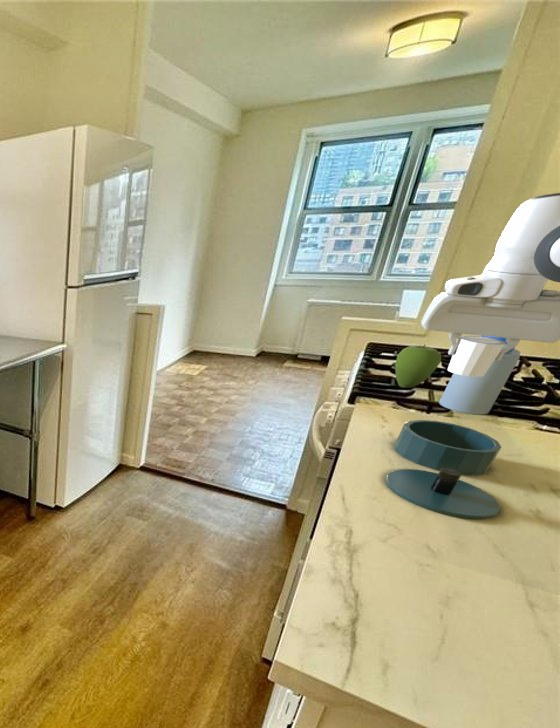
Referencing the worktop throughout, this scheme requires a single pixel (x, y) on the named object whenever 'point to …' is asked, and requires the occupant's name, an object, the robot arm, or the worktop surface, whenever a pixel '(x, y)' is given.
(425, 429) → the pot
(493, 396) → the spray bottle
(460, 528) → the worktop surface
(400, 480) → the lid
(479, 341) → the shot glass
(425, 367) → the green mango
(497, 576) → the worktop surface
